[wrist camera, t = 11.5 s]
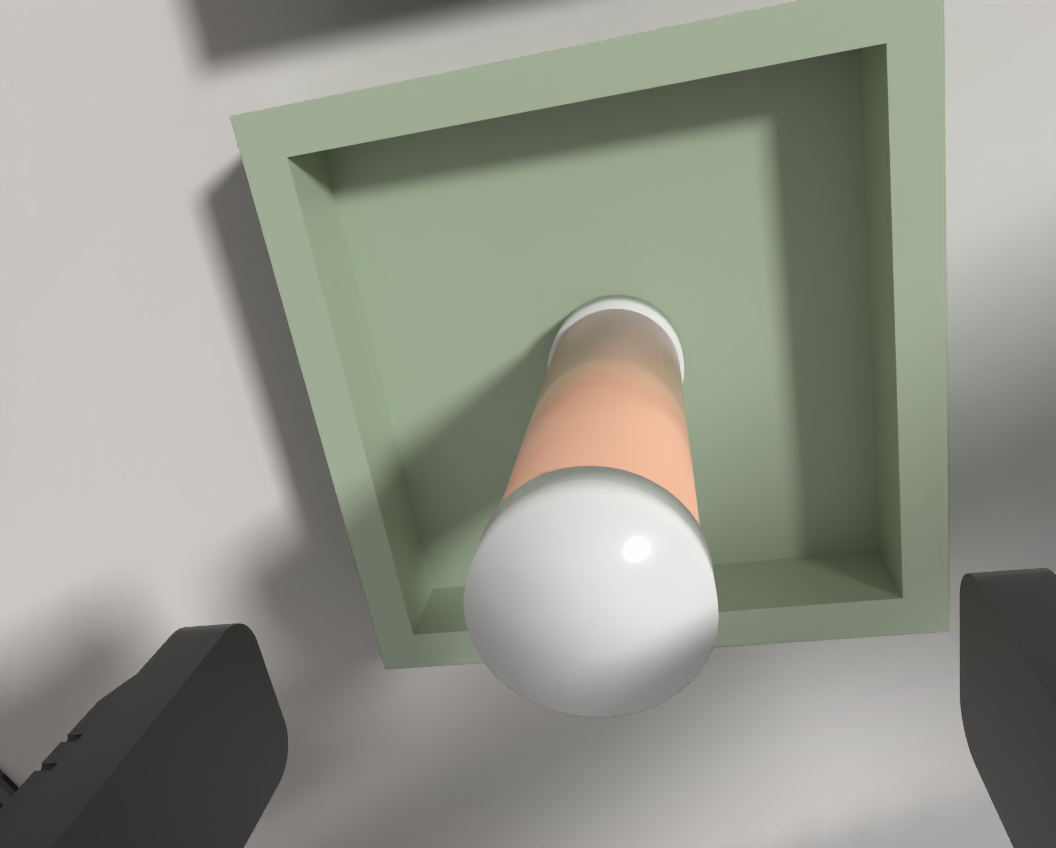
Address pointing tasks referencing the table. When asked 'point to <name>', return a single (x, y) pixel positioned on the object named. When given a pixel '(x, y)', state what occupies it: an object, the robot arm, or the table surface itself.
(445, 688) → the table surface
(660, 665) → the peg
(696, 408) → the parts tray
